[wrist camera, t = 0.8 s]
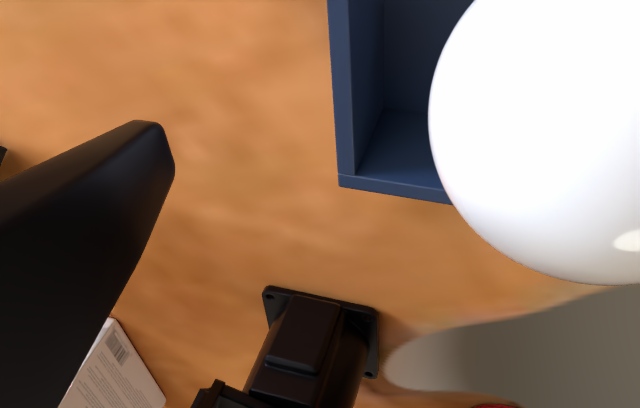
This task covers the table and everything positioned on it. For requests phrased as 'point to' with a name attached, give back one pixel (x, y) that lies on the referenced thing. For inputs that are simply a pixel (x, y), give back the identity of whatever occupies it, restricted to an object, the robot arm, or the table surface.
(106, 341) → the ink cartridge box
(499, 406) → the plastic cup
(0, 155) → the character figurine
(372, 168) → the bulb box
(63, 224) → the robot arm
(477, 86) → the lightbulb
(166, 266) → the table surface
